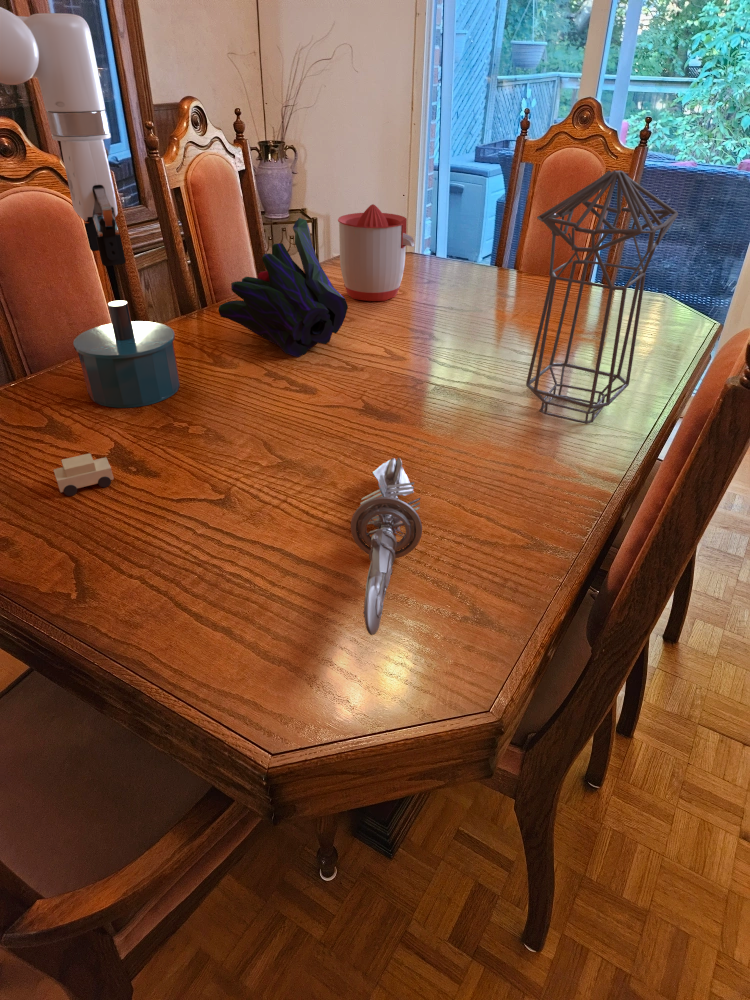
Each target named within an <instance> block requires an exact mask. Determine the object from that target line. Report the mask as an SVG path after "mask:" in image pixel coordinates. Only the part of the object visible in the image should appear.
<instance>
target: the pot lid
mask: <svg viewBox="0 0 750 1000" xmlns="http://www.w3.org/2000/svg"><path fill="white" fill-rule="evenodd" d="M107 308H108V312H109V318H110V322H111V323H107V324H102V325H99V326H94V327H92V328H90V329H88V330H85V331H83V332H82V333H79V334H78V335H76V337H75V338H74V340H73V343H72V344H73V348H74V350H75V351H76V352H77V354H78V353H80V354H82V355H85V356H88V357H93V358H102V359H120V358H130V357H137V356H142V355H146V354H150V353H153V352H156V351H159V350H161V349H163V348H165V347H167V346H169V345H170V344H171V343H172V342H173V343H174V342H175V339H176V334H175V331H174V329H173V328H172V327H170V326H169V325H166V324H163V323H159V322H153V321H146V320H145V321H143V320H135V321H134V320H133V321H132V318H131V312H130V307H129V303H128V301H127V300H113V301H109V302H108V303H107Z"/></svg>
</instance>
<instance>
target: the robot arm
mask: <svg viewBox="0 0 750 1000" xmlns="http://www.w3.org/2000/svg"><path fill="white" fill-rule="evenodd" d="M98 69H99V68H98V63H97V59H96V54H95V49H94V42H93V38H92V33H91V29H90V26H89V24H88V22H87V21H86V20H85V18H83V17H82V16H80V15H79V14H73V13H62V12H61V13H59V12H56V13H55V12H42V13H41V12H40V13H33V14H30V15H29V16H23V15H22V16H21V15H16V14H14V13H13V12H11V11H10V10H7V9H6V8H3V7H1V6H0V84H3V85H7V86H16V85H22V84H24V83H26V82H28V81H29V80H30V79H37V80H38V84H39V89H40V93H41V97H42V101H43V106H44V110H45V113H46V114H45V115H46V118H47V121H48V127H49V129H50V134H51V139H52V140H53V141H59V142H60V148H61V153H62V158H63V164H64V165H63V166H64V170H65V174H66V178H67V184H68V188H69V193H70V199H71V204H72V208H73V211H74V212H75V213H76V214H77V216H78V217H80V219H82V220H83V221H84V228H85V233H86V237H87V241H88V245H89V249H90V251H92V252H99V256H100V260H101V264H102V265H103V266H104V267H110V266H118V265H124V264H126V258H125V257H126V256H125V252H124V246H123V242H122V237H121V234H120V230H119V227H118V224H117V221H116V217H117V216H118V214H119V213H118V205H117V204H118V203H117V198H116V194H115V193H116V192H115V188H114V187H115V186H114V182H113V177H112V173H111V168H110V163H109V159H108V155H107V151H106V145H105V141H104V140H108V139H111V138H112V135H111V131H110V124H109V119H108V115H107V110H106V105H105V99H104V94H103V89H102V85H101V80H100V74H99V70H98Z"/></svg>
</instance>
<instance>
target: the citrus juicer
mask: <svg viewBox="0 0 750 1000" xmlns="http://www.w3.org/2000/svg"><path fill="white" fill-rule="evenodd" d="M407 220H408V219H407V218H406V216H403V215H399V214H395V213H388V212H382V211H381V210H380V209H379V207H378V206H377V205H375V204H374V203H373V204H371V205H369V206H368V207H367V208H366V209H365V210H364V211H363V212H355V213H348V214H344V215H341V216H339V217H338V219H337V221H338V226H339V227H338V234H339V235H338V237H339V239H338V240H339V265H340V271H341V276H342V281H343V283H344V284H343V285H344V288H345V290H346V293H347V295H348V296H349V297H350V298H352V299H353V300H359V301H367V302H368V301H369V302H371V301H372V302H377V301H378V302H386V301H388V300H391V299H393V298H395V297H396V296H397V294H398V292H399V291H400V288H401V284H402V280H403V276H404V271H405V264H406V247H411V248H413V247H415V244H416V243H415V241H414V238H413V236H411V235H410V234H407V227H408V226H407V223H408V222H407Z"/></svg>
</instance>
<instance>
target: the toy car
mask: <svg viewBox="0 0 750 1000" xmlns="http://www.w3.org/2000/svg"><path fill="white" fill-rule="evenodd" d="M60 461H61V466H62V467H57V468H53V473H54V477H55V480H56V483H57V486H58V490H59V492H60V493H63V494H64V495H66V496H67V497H73V496H75V495H76V494H77V493H78V489H81V488H84V487H89V486H93V485H97V484H98V486H99V487H101V488H108V487H110V485H111V483H112V481H113V480H115V478H114V474H113V470H112V467H111V465H110V462H109V460H108V458H107V457H106V456H105V457H101V458H97V459H93V456H92V453H90V452H89V453H85V454H80V455H77V456H71V457H67V458H63V459H60Z"/></svg>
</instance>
